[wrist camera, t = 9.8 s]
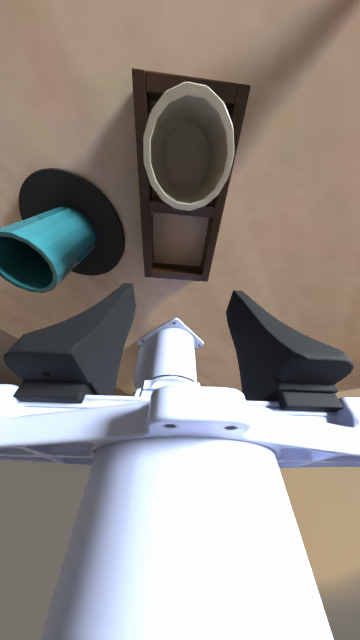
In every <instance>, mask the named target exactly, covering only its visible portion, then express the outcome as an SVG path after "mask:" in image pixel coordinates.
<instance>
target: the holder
mask: <svg viewBox="0 0 360 640" xmlns="http://www.w3.org/2000/svg"><path fill="white" fill-rule="evenodd" d="M132 79H133V95H134V111H135V127H136V143H137V159H138V175H139V191H140V207H141V223H142V239H143V255H144V271H145V277H154V278H167V279H180V280H193V281H206V282H207V281H208V278H209V273H210V268H211V264H212V259H213V255H214V250H215V246H216V241H217V237H218V232H219V228H220V223H221V219H222V214H223V210H224V205H225V200H226V196H227V191H228V187H229V182H230V178H231V173H232V169H233V164H234V160H235V155H236V151H237V146H238V142H239V137H240V133H241V128H242V123H243V119H244V114H245V110H246V105H247V101H248V96H249V92H250V85H245V84H237V83H231V82H224V81H217V80H210V79H203V78H196V77H189V76H182V75H175V74H168V73H161V72H154V71H146V72H145V70H141V69H134V68H133V69H132ZM187 81H188V82H193V83H197V84H202V85H206V86H208V87H209V88H210V89H211V90H212V91H213V92H214V93H215V94H216V95H217V96H218V97H219V98H220V99H221V100H222V101H223V102H224V103H225V106H226V108H227V111H228V114H229V116H230V119H231V122H232V124H233V128H234V150H235V152H234V158H233V162H232V166H231V170H230V174H229V177H228V179H227V181H226V182H225V184H224V186H223V188H222V189H221V191H220V193H219V194H218V195H217V196H216V197H215V198H214V199H213V200H212V203H208V204H207V205H206V206H204V207H201V208H198V209H195V210H192V211H187V210H180V209H175V208H173V207H171V206H170V205H168V204H167V203H165V202H164V201H162V199H160V198H155V197H152V186H151V184H150V182H149V179H148V175H147V172H146V169H145V166H144V161H143V138H144V137H143V136H144V132H145V128H146V125H147V121H148V118H149V114H150V112H151V103H150V100H151V101H157V102H158V100H159V99H160V98H161V96H162V95H163V93H164V92H166V90H168V89H170V88H173V87H175V86H177V85H179V84H181V83H183V82H187ZM153 212H158V213H168V214H178V215H188V216H198V217H208V218H209V222H208V228H207V233H206V239H205V245H204V250H203V256H202V262H201V267H198V266H186V265H174V264H162V263H154V244H153Z"/></svg>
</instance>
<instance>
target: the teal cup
mask: <svg viewBox="0 0 360 640" xmlns="http://www.w3.org/2000/svg"><path fill="white" fill-rule="evenodd" d="M96 241H97V237H96V232H95V229H94V227H93V225H92V224H91V222H90V221H89V219H88V218H87V217H86V216H85V215H84V214H82V213H81V212H79V211H78V210H76V209H74V208H71V207H67V206H62V207H58V208H55V209H52V210H49V211H47V212H44V213H41V214H39V215H36V216H33V217H30V218H28V219H25V220H22V221H20V222H17V223H14V224H12V225H9V226H6V227H3V228H1V229H0V276H1V277H2V278H3V279H5V280H6V281H8V282H10V283H11V284H13V285H15V286H16V287H19V288H21V289H24V290H27V291H30V292H38V293H44V292H48V291H51V290H53V289H54V288H55V287H56V286H57V285H58V284H59V283H60V282H61V281H62V280H63V279H64V278H65V277H66V276H67V275H68V274H69V273H70V272H71V271H72V270H73V269H74V268H75V267H76V266H77V265H78V264H79V263H80V262H81V261H82V260H83V259H84V258H85V257H86V256H87V255H88V254H89V253H90V252H91V251H92V250H93V249H94V247H95V245H96Z"/></svg>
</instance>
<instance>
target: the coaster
mask: <svg viewBox="0 0 360 640" xmlns="http://www.w3.org/2000/svg"><path fill="white" fill-rule="evenodd" d="M62 206H67V207H71V208H74V209H76V210H78V211H79V212H81V213H82V214H84V215H85V216H86V217H87V218H88V219H89V221H90V222H91V224H92V225H93V227H94V229H95V232H96V237H97V241H96V245H95V247H94V249H93V250H92V251H91V252H90V253H89V254H88V255H87V256H86V257H85V258H84V259H83V260H82V261H81V262H80V263H79V264H78V265H77V266H76V267H75V268H74V269H73V270H72V271H73V272H76V273H79V274H84V275H99V274H103V273H106V272H108V271H110V270H112V269H113V268H114V267H115V266H116V265H117V264H118V262H119V261H120V259H121V257H122V255H123V251H124V244H125V239H124V231H123V227H122V224H121V221H120V219H119V216H118V214H117V212H116V210H115V209H114V207H113V206H112V204H111V203H110V201H109V200H108V199H107V198H106V196H105V195H104V194H103V193H102V192H101V191H100V190H99V189H98V188H97V187H96V186H94V185H93V184H92V183H91V182H89V181H88V180H86V179H85V178H83V177H81V176H79V175H78V174H75V173H73V172H70V171H67V170H63V169H55V168H49V169H42V170H39V171H36V172H34V173H32V174H31V175H30V176H29V177H27V178H26V180H25V181H24V183H23V184H22V187H21V190H20V194H19V208H20V214H21V217H22V220H25V219H28V218H30V217H33V216H36V215H39V214H41V213H44V212H47V211H49V210H52V209H55V208H58V207H62Z"/></svg>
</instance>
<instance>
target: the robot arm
mask: <svg viewBox="0 0 360 640" xmlns="http://www.w3.org/2000/svg"><path fill="white" fill-rule="evenodd" d="M135 309H136V303H135V296H134V288H133V284H128V283H124V284H122V285H121V286H120V287H119V288H117V289H116V290H115V291H114V292H112V293H111V294H110V295H109V296H107V297H106V298H105V299H103V300H102V301H100V302H99V303H97V304H96V305H94V306H93V307H91V308H89V309H88V310H86V311H84V312H82V313H80V314H78V315H76V316H74V317H72V318H70V319H67V320H65V321H62V322H60V323H57V324H55V325H52V326H49V327H46V328H43V329H40V330H37V331H33V332H30V333H26V334H23V335H22V336H21V337H20V339H19V340H18V341H17V342H16V343H15V344H14V345H13V346H12V347H11V348H10V349H9V351H8V352H7V353H6V354H5V355H4V361H5V363H6V365H7V366H8V367H9V368H10V369H11V370H12V371H14V373H16V374H17V375H18V376H19V377H20V378H21V379H22V380H24V381H23V382H22V384H21V385H20V387H18V386H15V385H11V384H0V460H11V461H31V462H48V463H63V464H78V465H79V464H80V465H92V466H91V469H90V473H89V476H88V479H87V483H86V486H85V489H84V493H83V496H82V500H81V503H80V506H79V510H78V513H77V516H76V520H75V523H74V527H73V530H72V534H71V537H70V540H69V544H68V547H67V550H66V554H65V557H64V560H63V564H62V567H61V571H60V574H59V577H58V581H57V585H56V588H55V591H54V594H53V598H52V601H51V604H50V608H49V611H48V614H47V618H46V622H45V625H44V628H43V631H42V635H41V638H40V640H334V639H333V636H332V633H331V630H330V627H329V624H328V620H327V617H326V614H325V611H324V608H323V605H322V602H321V598H320V595H319V592H318V589H317V586H316V583H315V580H314V576H313V573H312V570H311V567H310V564H309V561H308V558H307V554H306V552H305V549H304V545H303V542H302V539H301V536H300V532H299V529H298V526H297V523H296V520H295V517H294V514H293V511H292V508H291V504H290V501H289V498H288V495H287V492H286V489H285V486H284V482H283V479H282V476H281V473H280V470H279V468H298V467H299V468H301V467H360V398H352V397H343V398H339V399H338V398H337V396H336V395H335V393H337V392H338V390H337V388H336V387H335V385H334V384H336V383H337V382H339V381H340V380H342V379H343V378H344V377H346V376H347V375H348V374H350V373H351V371H352V370H353V363H352V362H351V361H350V360H349V358H348V357H347V356H346V355H345V353H344V352H343V351H342V350H339V349H337V348H334V347H331V346H329V345H326V344H324V343H321V342H319V341H317V340H314V339H312V338H310V337H308V336H306V335H304V334H302V333H300V332H298V331H296V330H294V329H292V328H290V327H289V326H287V325H285V324H284V323H282V322H281V321H279V320H278V319H276V318H275V317H273V316H272V315H271V314H269V313H268V312H267V311H265V310H264V309H263V308H262V307H260V306H259V305H258V304H257V303H256V302H254V301H253V300H252V299H251V298H250V297H249V296H248V295H246V294H245V293H244V292H243V291H235V290H233V293H232V296H231V299H230V302H229V305H228V308H227V311H226V315H227V322H228V326H229V329H230V333H231V336H232V339H233V342H234V346H235V349H236V353H237V358H238V364H239V370H240V376H241V384H242V393H241V392H240V391H238V390H237V389H233V388H227V387H206V386H200V383H197V378H196V363H195V349H197V348H199V347H201V346H203V345H204V342H203V341H202V340H201V339H200V338H199V337H198V336H196V335H195V334H194V333H193V332H192V331H191V330H190V329H189V328H188V327H187V326H186V325H185V324H184V323H183V322H181V321H180V320H179V319H178V318H175V319H173V320H171V321H170V322H168V323H166V324H165V325H163V326H161V327H159V328H158V329H156V330H154V331H153V332H151V333H149V334H147V335H146V336H144V337H142V338H141V339H139V340H137V342H136V343H137V344H138V345H139V346H140V348H139V352H138V356H137V361H136V365H135V370H134V375H133V378H134V384H135V387H136V389H137V390H136V391H135V392H134V393H133V394H132V396H114V391H115V385H116V380H117V375H118V370H119V365H120V360H121V356H122V352H123V347H124V344H125V341H126V338H127V335H128V333H129V330H130V327H131V324H132V321H133V319H134V314H135ZM173 322H175V323H173Z"/></svg>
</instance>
